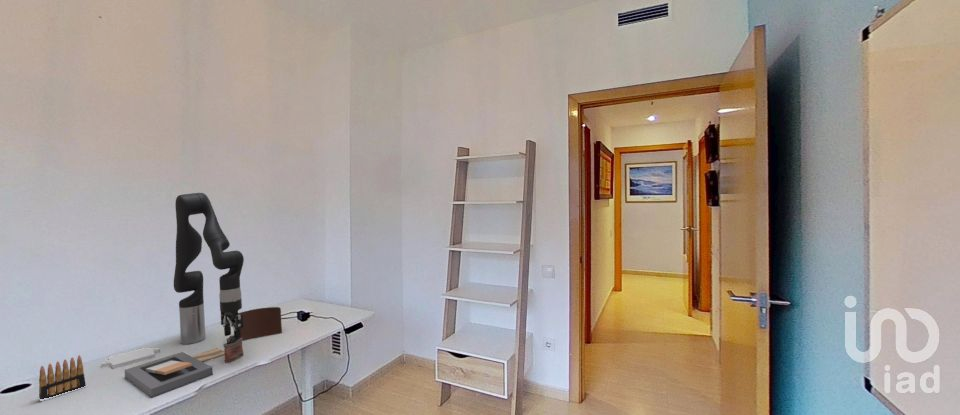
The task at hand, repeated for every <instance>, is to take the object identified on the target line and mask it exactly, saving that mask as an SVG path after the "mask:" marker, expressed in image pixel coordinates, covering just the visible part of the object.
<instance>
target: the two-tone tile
mask: <svg viewBox="0 0 960 415" xmlns="http://www.w3.org/2000/svg"><path fill="white" fill-rule="evenodd" d="M189 366H192V363H188V362H180V361H172V360H171V361H168V362H165V363H162V364H159V365H156V366H153V367H149V368H146V371H147V372H152V373H158V374H163V375H166V374H169V373H172V372H175V371H178V370H181V369H183V368H186V367H189Z"/></svg>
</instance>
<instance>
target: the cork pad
mask: <svg viewBox="0 0 960 415" xmlns="http://www.w3.org/2000/svg"><path fill="white" fill-rule="evenodd" d="M190 356H191V357H193V358H195V359H197V360H199V361H201V362H203V363H205V361H206V362H208V361H210V360H213V359H214V360H215V359H217V358H220V357H223V356H225V351H224V349H223V350H222V349H221V348H218V347H215V348H212V349H209V350H205V351H202V352H201V353H197V354H194V355H190Z"/></svg>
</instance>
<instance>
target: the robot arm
mask: <svg viewBox="0 0 960 415" xmlns="http://www.w3.org/2000/svg"><path fill="white" fill-rule="evenodd" d="M174 206H175V218H176V236H175V237H176V238H175V268H174V275H173V290H174V291H175V292H176V293H178V294H179V293H187V292H193V293H191V294H190V295H188V296H186V297H185V298H182V299H180V300H179V302H178V308H179V310H178V311H179V328H180V330H179V331H180V344H182V345H191V344H195V343H199V342H202V341H204V340H206V322H205V321H206V320H205V304H204V303H205V302H204V275H203V272H202V271H201V270H191V271H187V269H188V267H189V266H190V265H191V264H192V263H193V262H194V261H195V260H197V258H198V256H200V254H201V252H202V249H203V247H202V245H203V240H204V242H205V243H206V244H207V246H208V248H209V250H210V254H211V259H212V265H213V266H214V268H215V269H217V270H219V271H220V270H227V269H228V272H227V273H225V274H222V275H220V277H219V294H218V295H219V296H218V297H219V311H220V325H221V326H222V328H223V330H224V331H223V332H224V333H223V334H224V336H225V337H227V336H232V329H233V336H234V339H235V340H237V339H240V338H241V330H240V329H243V328H244V326H243V315H242V314H240V315H239V314H238V313H239V311H240V310H241V309H242V308H243V303H242V301H243V300H242V290H241V279H240V277H241V274H242V269H243V266H244V260H245V258H244V255H243V253H242V252H241V251H240V250H231V251H230V250H229V251H225V250H228V248H230V246H231V245H230V241H229V239H228V238H227V236H226V235H225V233H224V231H223V229H222V228H221V226H220V223H219V221H218V218H217V216H216V213H215V211H214V208H213V206H212V202H211V201H210V199H209V197H208V195H207V194H206V193H204V192H196V193H195V192H192V193H184V194H180V195H177V197H176V198H175V205H174ZM199 214H203V215H204V217H205V223H204V226H203V229H202V230H203V231H202V235H203V236H201V234H200V232H198V231H197V230H196V228H194V227H193V226H192V224H191V223H190V221H189V220H190V218H189V217H190V216H193V215H194V216H196V215H199ZM202 237H203V238H202ZM240 323H241V325H240ZM235 326H236V327H235ZM231 327H232V328H231Z"/></svg>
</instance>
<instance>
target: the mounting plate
mask: <svg viewBox="0 0 960 415" xmlns="http://www.w3.org/2000/svg"><path fill="white" fill-rule="evenodd" d="M160 352H161V351H160V347H155V348H150V347H149V346H146V347H142V348H138V349H135V350H131V351H127V352H122V353H119V354H115V355H111V356H108V357H107V360H105V361H102V362H101V363H100V364H101V368H102V367H104V368H108V367H111V368H112V370H115V369H118V368H121V367H122V368H123V367H125V366H129V365H133V364H136V363H140V362H143V361H147V360H151V359H155V358H156V354H159V353H160ZM107 366H108V367H107Z"/></svg>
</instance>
